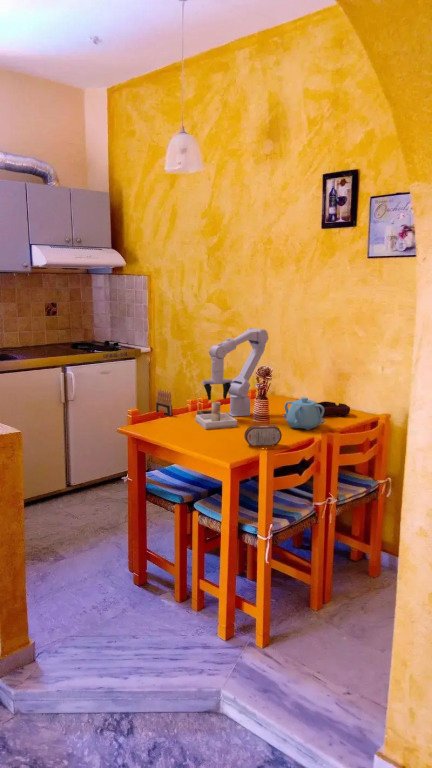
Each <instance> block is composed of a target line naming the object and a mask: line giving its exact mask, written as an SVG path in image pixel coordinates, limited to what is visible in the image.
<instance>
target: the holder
mask: <svg viewBox="0 0 432 768" xmlns="http://www.w3.org/2000/svg"><path fill="white" fill-rule="evenodd" d="M204 414H212V409H207V410H197V411H196V415H204Z"/></svg>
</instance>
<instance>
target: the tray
mask: <svg viewBox="0 0 432 768" xmlns="http://www.w3.org/2000/svg"><path fill="white" fill-rule="evenodd" d="M195 422H196V423H197V424H199V426H201V427H202V428H203V429H204V430H212V429H216V430H217V429H226V428H237V427H238V420H237V419H236V418H234V417H233V416H231V415H229V414H228V413H227V412H220V421H215V422H212V414H204V415H197V414H196V415H195Z"/></svg>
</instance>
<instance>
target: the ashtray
mask: <svg viewBox="0 0 432 768" xmlns="http://www.w3.org/2000/svg"><path fill="white" fill-rule="evenodd" d="M316 403H317V404H319V405H322V406H323V407H324V414H323V416H322V418H324V417H325V416H326V417H336V416H339V417H347V416H348V415H349V414H350V411H351V406H349V405H347V404H345V403H338V404H336V402H333V401H326V400H325V401H320V402H316ZM319 410H320V414H321V413H322V409H321V408H320V407H319Z"/></svg>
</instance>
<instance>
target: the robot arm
mask: <svg viewBox="0 0 432 768" xmlns="http://www.w3.org/2000/svg"><path fill="white" fill-rule="evenodd" d="M268 340H269V333H268V331H267V330H266V329H262V328H261V329H259V328H254V327H250V328H248V329H245V331H244V332H242V333H241V334H239V335H238V336H236V337H234V338H230V337H227V338H226V339H225V340H224V341H222V342H219V343H218V344H217V345H216V344H214V345H212V346H211V347H210V348H209V351H208V354H209V356H210V360H211V364H210V365H211V370H210V371H211V375H210V376H211V377H210V379H203V380H201V384H202V386H203V388H204V389H205V392H206V395H207V399H208V400H209V401H211V400H212V388H213V387H212V385H222V389H223V390H222V391H223V394H222V395H223V396H222V398H223V399H224V400H227V396H228V394H229V397H230V398H229V399H230V403H229V406H230V407H229V411H228V412H226V413H227V414H228V415H230V416H231V417H233V418H234V417H247V416H251V399H250V397H249V396H248V395H249V391H250V388H251V384H250V382H249V380H250V379H251V377H252V375H253V373H254V371H255V369H256V368H257V366H258V363H259V362H260V360H261V358H262V356H263V354H264V351H265V348H266V344H267V343H268ZM247 341H248V342H249V344H250V346H251V351H250V353H249V355H248V357H247V359H246V361H245V363H244V365H243V366H242V368H241V370H240V373H239V374H238V375H237V376H236V377H234V378H233V379H231V378H224V371H225V370H224V365H225V363H224V362H225V361H224V360H225V358H226V356H227V355H228V354H229V353H231V352H233V351H235V350H236V349H237V346H239V345H241V344H243V343H246V342H247Z"/></svg>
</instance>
